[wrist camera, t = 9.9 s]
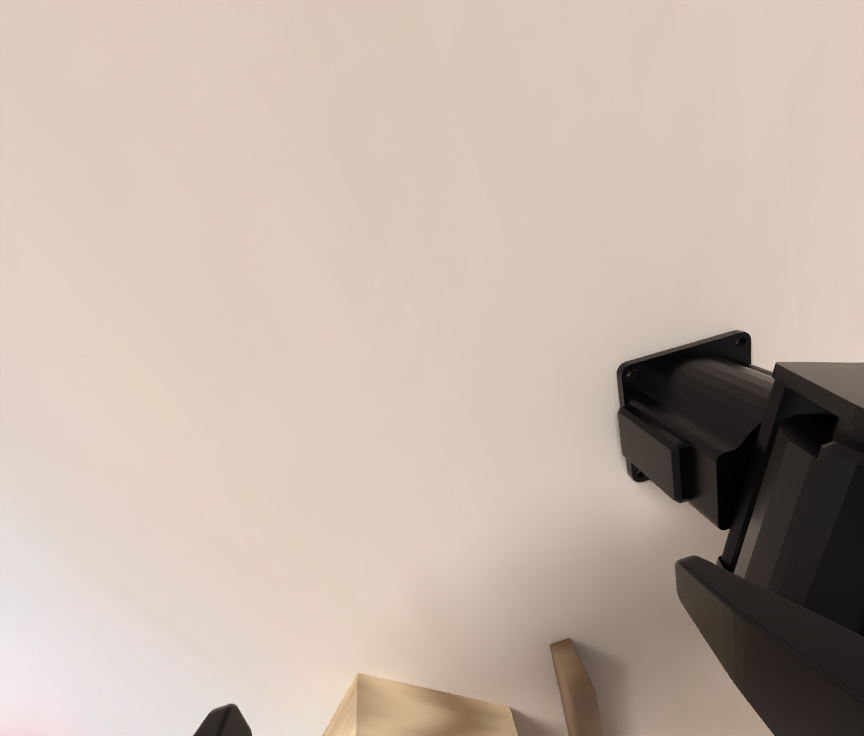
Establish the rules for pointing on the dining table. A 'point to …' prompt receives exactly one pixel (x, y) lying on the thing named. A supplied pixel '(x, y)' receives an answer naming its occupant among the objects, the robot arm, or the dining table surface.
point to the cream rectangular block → (414, 712)
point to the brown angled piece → (575, 691)
